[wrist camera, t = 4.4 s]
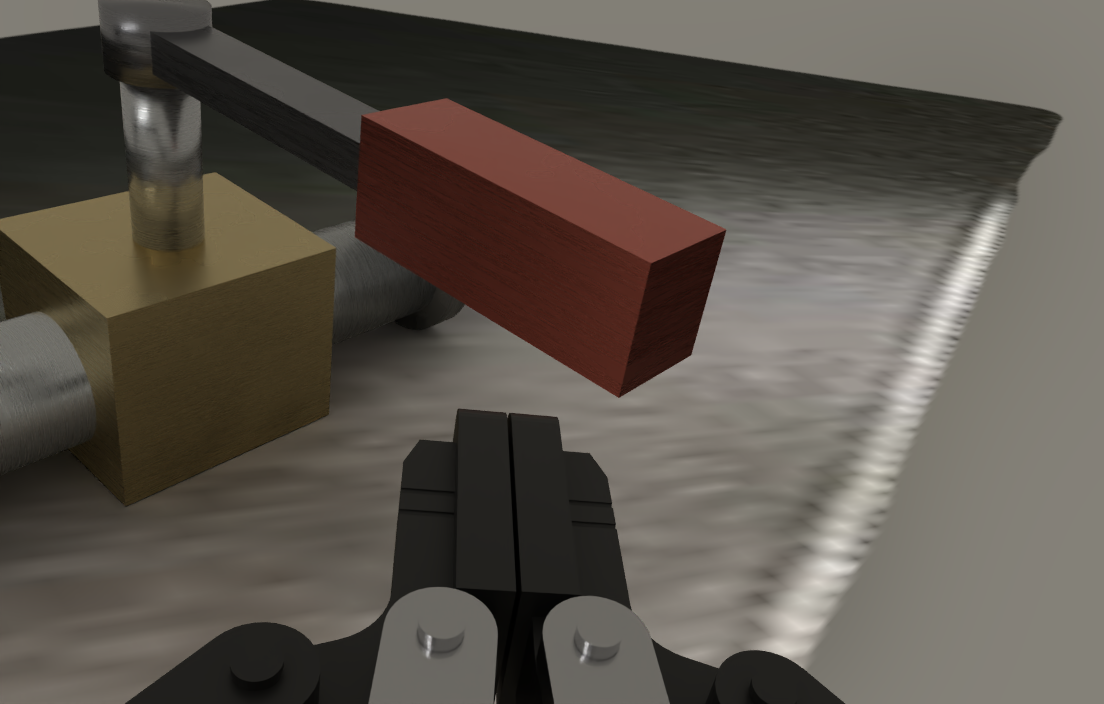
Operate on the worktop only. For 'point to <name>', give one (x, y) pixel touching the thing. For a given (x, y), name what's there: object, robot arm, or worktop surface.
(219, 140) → the worktop surface
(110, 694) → the worktop surface
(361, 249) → the valve
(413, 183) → the lever
